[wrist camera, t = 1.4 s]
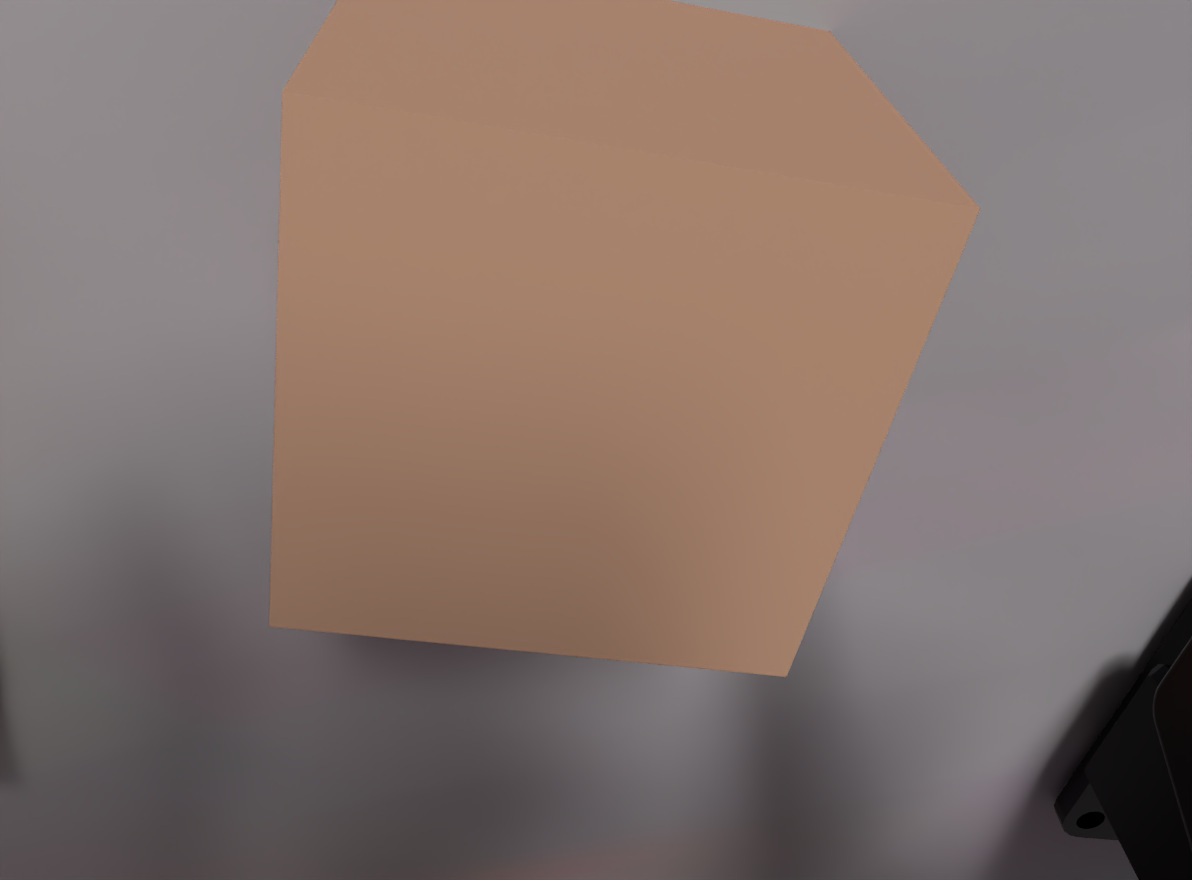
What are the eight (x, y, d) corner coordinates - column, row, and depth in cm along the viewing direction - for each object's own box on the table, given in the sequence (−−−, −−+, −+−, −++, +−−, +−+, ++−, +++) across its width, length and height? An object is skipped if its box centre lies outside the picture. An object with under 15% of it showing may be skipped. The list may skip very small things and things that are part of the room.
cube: (828, 29, 12) (980, 209, 8) (716, 402, 15) (786, 677, 11) (372, -57, 11) (282, 91, 7) (345, 352, 14) (269, 627, 10)
